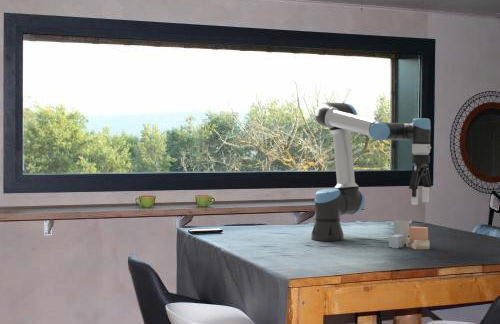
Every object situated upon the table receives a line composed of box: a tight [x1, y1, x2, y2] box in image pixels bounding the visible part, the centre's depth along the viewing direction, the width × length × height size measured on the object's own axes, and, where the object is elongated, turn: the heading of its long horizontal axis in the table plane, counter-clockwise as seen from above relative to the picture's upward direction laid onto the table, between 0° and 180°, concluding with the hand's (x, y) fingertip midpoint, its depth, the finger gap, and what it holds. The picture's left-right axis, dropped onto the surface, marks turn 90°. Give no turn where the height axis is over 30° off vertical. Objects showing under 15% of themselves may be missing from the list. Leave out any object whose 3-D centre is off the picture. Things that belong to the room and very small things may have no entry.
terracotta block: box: [409, 225, 429, 240], centre depth 290 cm, size 7×4×5 cm, turn 59°
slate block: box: [388, 234, 405, 249], centre depth 292 cm, size 7×4×5 cm, turn 146°
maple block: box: [405, 238, 431, 250], centre depth 290 cm, size 10×6×4 cm, turn 12°
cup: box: [392, 219, 412, 245], centre depth 303 cm, size 8×8×10 cm
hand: (420, 203), depth 290 cm, fingers open, 13 cm apart
